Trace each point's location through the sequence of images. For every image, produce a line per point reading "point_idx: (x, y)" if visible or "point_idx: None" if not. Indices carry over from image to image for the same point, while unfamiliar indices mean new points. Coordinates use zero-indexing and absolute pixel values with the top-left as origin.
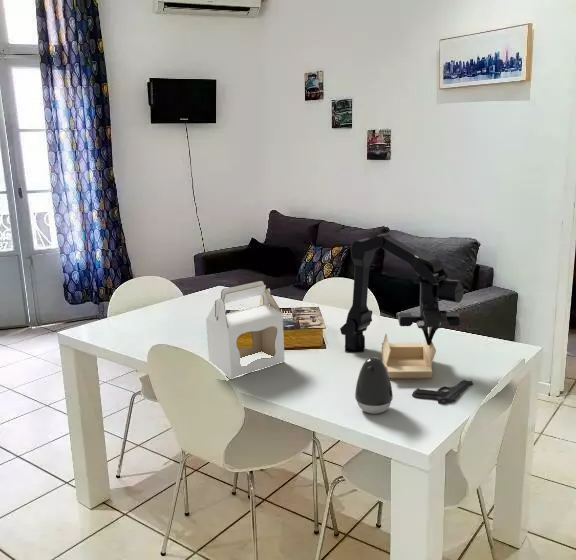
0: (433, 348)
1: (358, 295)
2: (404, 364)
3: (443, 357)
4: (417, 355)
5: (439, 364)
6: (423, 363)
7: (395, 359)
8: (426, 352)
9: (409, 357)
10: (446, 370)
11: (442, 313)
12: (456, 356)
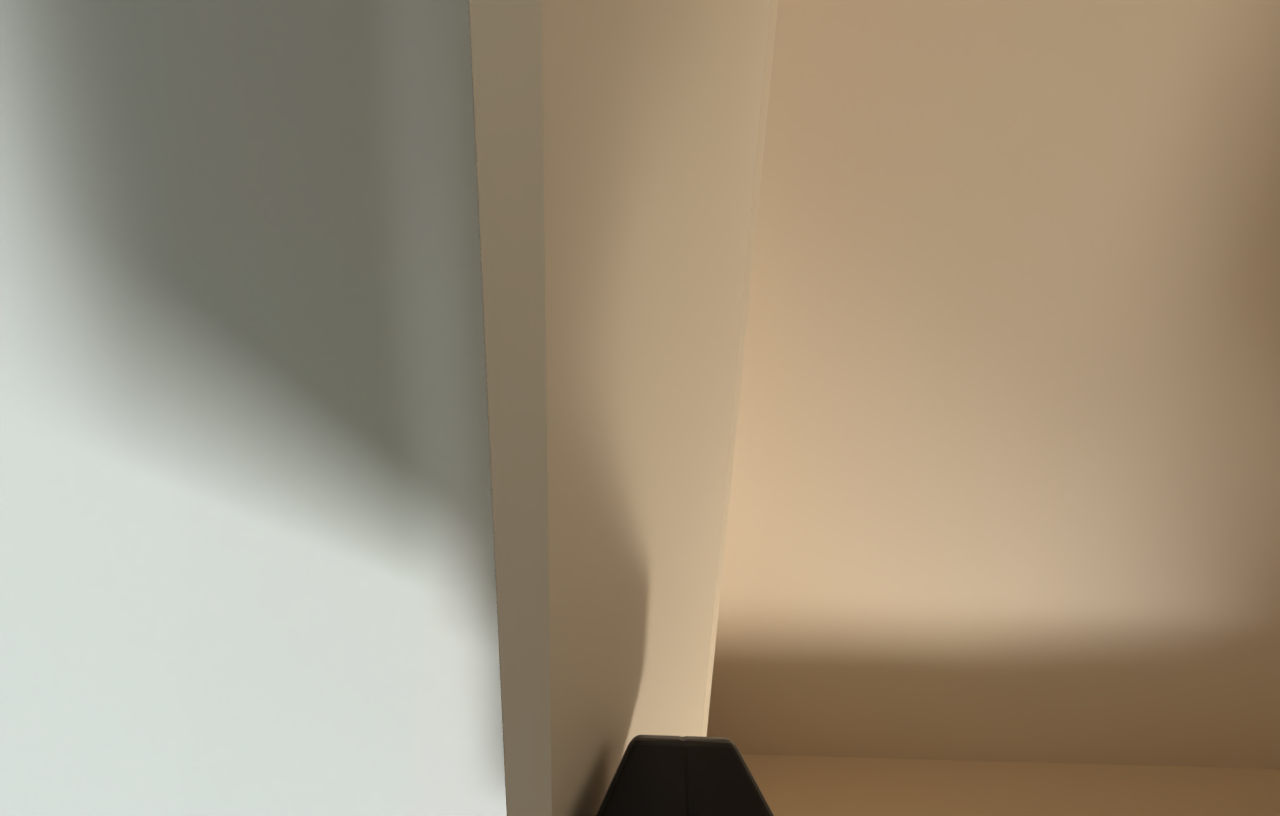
0: (574, 97)
1: None
2: (1206, 438)
3: (264, 741)
4: (785, 783)
5: (367, 444)
6: (739, 467)
7: (1277, 680)
8: (710, 608)
9: (948, 745)
10: (206, 74)
11: None
12: (14, 766)
